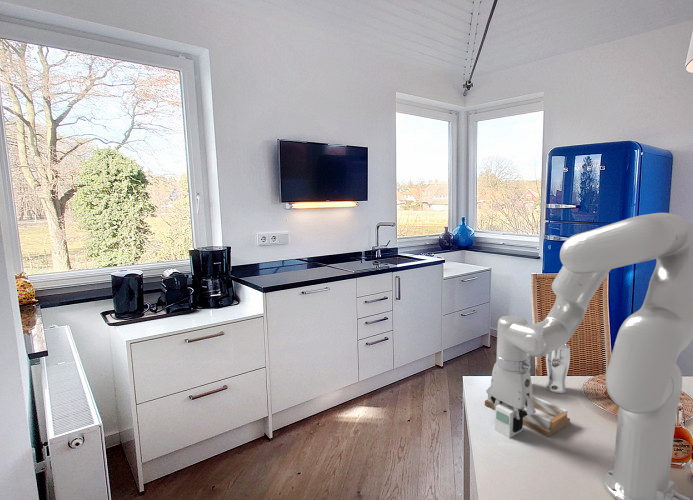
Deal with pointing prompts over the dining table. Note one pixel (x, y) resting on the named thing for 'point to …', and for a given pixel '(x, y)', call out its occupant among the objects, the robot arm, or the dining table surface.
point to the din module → (505, 419)
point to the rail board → (542, 416)
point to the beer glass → (557, 369)
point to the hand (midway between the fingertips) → (508, 425)
